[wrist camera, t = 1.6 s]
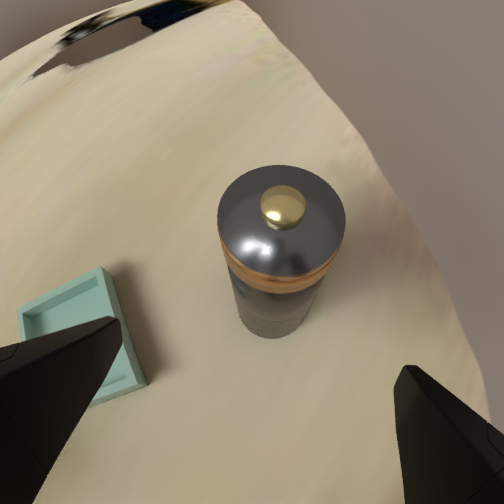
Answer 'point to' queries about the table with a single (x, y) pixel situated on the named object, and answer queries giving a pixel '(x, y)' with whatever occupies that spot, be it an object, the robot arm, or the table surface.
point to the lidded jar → (278, 244)
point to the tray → (80, 311)
